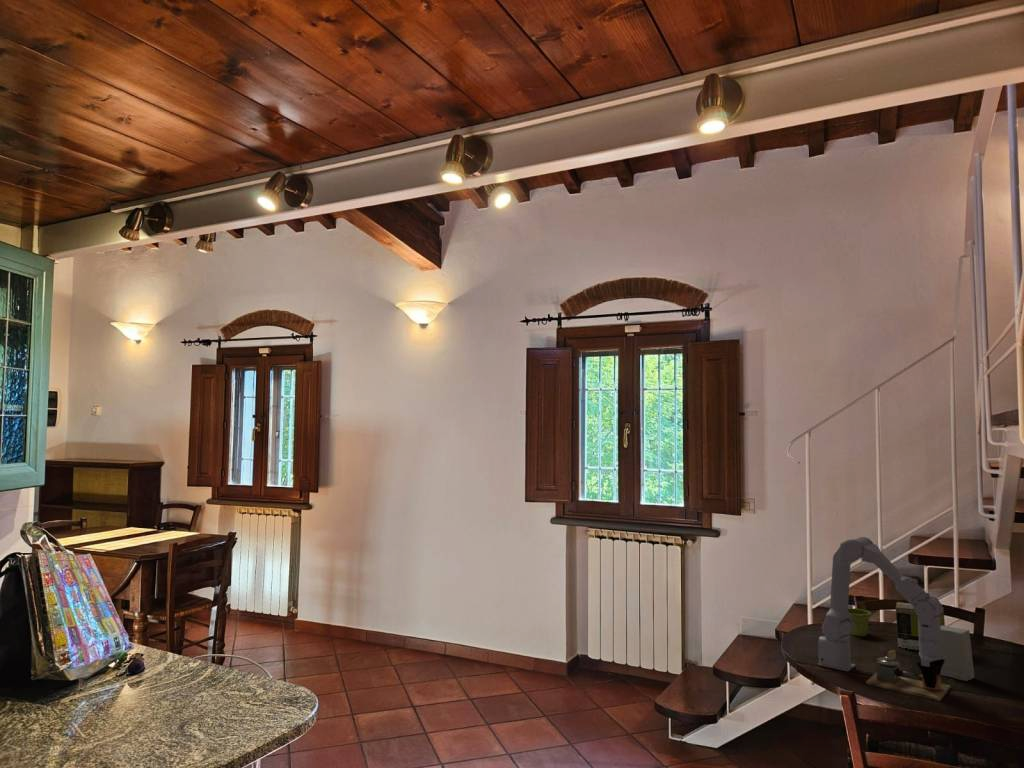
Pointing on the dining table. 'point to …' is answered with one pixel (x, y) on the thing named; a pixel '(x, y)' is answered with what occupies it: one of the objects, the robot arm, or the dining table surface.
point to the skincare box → (956, 653)
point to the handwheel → (889, 659)
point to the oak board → (911, 687)
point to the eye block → (887, 673)
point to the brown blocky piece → (919, 678)
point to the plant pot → (859, 621)
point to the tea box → (909, 626)
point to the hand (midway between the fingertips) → (932, 685)
